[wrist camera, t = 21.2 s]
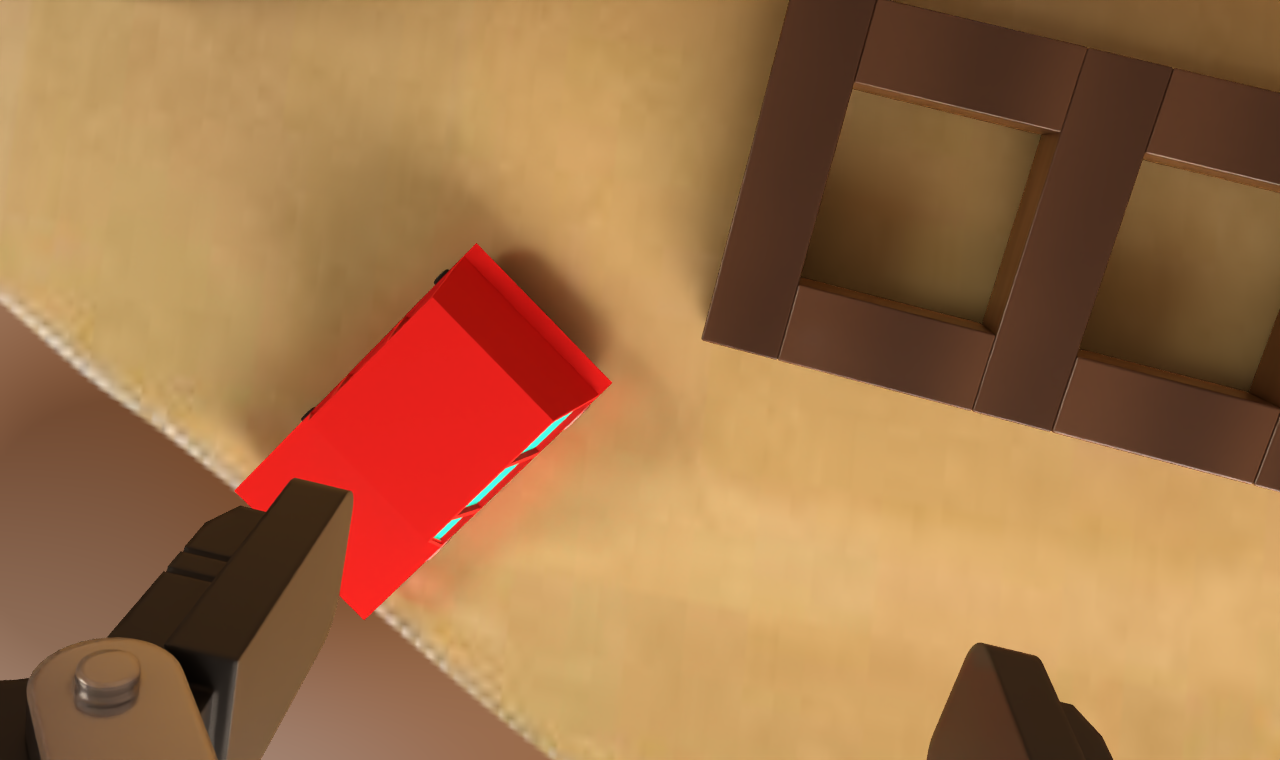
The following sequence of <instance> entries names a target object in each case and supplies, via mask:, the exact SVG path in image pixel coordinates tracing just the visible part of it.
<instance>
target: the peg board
mask: <svg viewBox="0 0 1280 760" xmlns="http://www.w3.org/2000/svg"><path fill="white" fill-rule="evenodd" d="M852 89H855V90H859V91H863V92H867V93H871V94H875V95H879V96H883V97H888V98H892V99H896V100H900V101H904V102H908V103H912V104H916V105H920V106H925V107H929V108H933V109H937V110H941V111H945V112H949V113H953V114H957V115H962V116H966V117H970V118H974V119H978V120H982V121H986V122H990V123H994V124H999V125H1003V126H1007V127H1011V128H1015V129H1019V130H1023V131H1027V132H1031V133H1036V134H1042V135H1041V138H1040V141H1039V145H1038V148H1037V151H1036V154H1035V157H1034V160H1033V164H1032V167H1031V170H1030V173H1029V176H1028V180H1027V183H1026V186H1025V189H1024V192H1023V195H1022V199H1021V202H1020V205H1019V208H1018V211H1017V214H1016V218H1015V221H1014V224H1013V227H1012V230H1011V233H1010V237H1009V240H1008V243H1007V246H1006V249H1005V253H1004V256H1003V259H1002V262H1001V265H1000V268H999V272H998V275H997V278H996V281H995V284H994V287H993V291H992V294H991V297H990V300H989V303H988V306H987V310H986V313H985V316H984V319H983V322H982V324H981V323H978V322H974V321H970V320H966V319H962V318H958V317H954V316H951V315H947V314H943V313H939V312H935V311H931V310H927V309H923V308H919V307H916V306H912V305H908V304H904V303H900V302H896V301H892V300H888V299H884V298H880V297H877V296H873V295H869V294H865V293H861V292H857V291H853V290H849V289H845V288H842V287H838V286H834V285H830V284H826V283H822V282H818V281H814V280H810V279H807V278H803V277H800V276H801V273H802V269H803V265H804V262H805V258H806V255H807V251H808V247H809V244H810V240H811V237H812V233H813V229H814V226H815V222H816V218H817V215H818V211H819V208H820V204H821V200H822V197H823V193H824V189H825V186H826V182H827V179H828V175H829V171H830V168H831V164H832V160H833V157H834V153H835V150H836V146H837V142H838V139H839V135H840V132H841V128H842V124H843V121H844V117H845V113H846V110H847V106H848V103H849V99H850V95H851V92H852ZM1142 160H1147V161H1151V162H1155V163H1159V164H1163V165H1167V166H1171V167H1175V168H1180V169H1184V170H1188V171H1192V172H1196V173H1200V174H1204V175H1208V176H1212V177H1217V178H1221V179H1225V180H1229V181H1233V182H1237V183H1241V184H1245V185H1249V186H1254V187H1258V188H1262V189H1266V190H1270V191H1274V192H1278V193H1280V93H1278V92H1274V91H1270V90H1266V89H1262V88H1257V87H1253V86H1249V85H1245V84H1240V83H1236V82H1232V81H1228V80H1224V79H1219V78H1215V77H1211V76H1207V75H1202V74H1198V73H1194V72H1190V71H1186V70H1181V69H1177V68H1174V69H1173V68H1172V67H1169V66H1164V65H1160V64H1156V63H1152V62H1148V61H1143V60H1139V59H1135V58H1131V57H1126V56H1122V55H1118V54H1114V53H1110V52H1105V51H1101V50H1097V49H1093V48H1087V47H1084V46H1080V45H1076V44H1072V43H1067V42H1063V41H1059V40H1055V39H1051V38H1046V37H1042V36H1038V35H1034V34H1029V33H1025V32H1021V31H1017V30H1013V29H1008V28H1004V27H1000V26H996V25H991V24H987V23H983V22H979V21H975V20H970V19H966V18H962V17H958V16H953V15H949V14H945V13H941V12H937V11H932V10H928V9H924V8H920V7H915V6H911V5H907V4H903V3H898V2H894V1H890V0H789V3H788V7H787V11H786V15H785V19H784V23H783V26H782V30H781V34H780V38H779V42H778V46H777V50H776V53H775V57H774V61H773V65H772V69H771V73H770V76H769V80H768V84H767V88H766V92H765V96H764V100H763V103H762V107H761V111H760V115H759V119H758V123H757V127H756V130H755V134H754V138H753V142H752V146H751V150H750V153H749V157H748V161H747V165H746V169H745V173H744V177H743V180H742V184H741V188H740V192H739V196H738V200H737V204H736V207H735V211H734V215H733V219H732V223H731V227H730V230H729V234H728V238H727V242H726V246H725V250H724V254H723V257H722V261H721V265H720V269H719V273H718V277H717V280H716V284H715V288H714V292H713V296H712V300H711V304H710V307H709V311H708V315H707V319H706V323H705V327H704V331H703V334H702V340H703V341H707V342H710V343H714V344H718V345H722V346H726V347H729V348H733V349H737V350H741V351H745V352H748V353H752V354H756V355H760V356H764V357H768V358H771V359H778V360H779V361H783V362H787V363H790V364H794V365H798V366H802V367H806V368H809V369H813V370H817V371H821V372H825V373H828V374H832V375H836V376H840V377H844V378H847V379H851V380H855V381H859V382H863V383H866V384H870V385H874V386H878V387H882V388H885V389H889V390H893V391H897V392H901V393H904V394H908V395H912V396H916V397H920V398H923V399H927V400H931V401H935V402H939V403H942V404H946V405H950V406H954V407H958V408H961V409H965V410H969V411H970V410H972V411H973V412H977V413H980V414H984V415H988V416H992V417H996V418H999V419H1003V420H1007V421H1011V422H1015V423H1018V424H1022V425H1026V426H1030V427H1034V428H1037V429H1041V430H1045V431H1052V432H1054V433H1057V434H1061V435H1065V436H1069V437H1072V438H1076V439H1080V440H1084V441H1088V442H1091V443H1095V444H1099V445H1103V446H1107V447H1110V448H1114V449H1118V450H1122V451H1126V452H1129V453H1133V454H1137V455H1141V456H1145V457H1148V458H1152V459H1156V460H1160V461H1164V462H1167V463H1171V464H1175V465H1179V466H1183V467H1186V468H1190V469H1194V470H1198V471H1202V472H1205V473H1209V474H1213V475H1217V476H1221V477H1224V478H1228V479H1232V480H1236V481H1240V482H1244V483H1247V484H1253V485H1255V486H1258V487H1262V488H1266V489H1270V490H1274V491H1277V492H1280V310H1279V313H1278V315H1277V318H1276V321H1275V323H1274V326H1273V329H1272V331H1271V334H1270V337H1269V339H1268V342H1267V345H1266V347H1265V350H1264V353H1263V355H1262V358H1261V361H1260V363H1259V366H1258V369H1257V371H1256V374H1255V377H1254V379H1253V382H1252V385H1251V388H1250V390H1249V393H1248V392H1246V391H1242V390H1238V389H1234V388H1231V387H1227V386H1223V385H1219V384H1215V383H1211V382H1207V381H1203V380H1199V379H1196V378H1192V377H1188V376H1184V375H1180V374H1176V373H1172V372H1168V371H1164V370H1160V369H1157V368H1153V367H1149V366H1145V365H1141V364H1137V363H1133V362H1129V361H1125V360H1122V359H1118V358H1114V357H1110V356H1106V355H1102V354H1098V353H1094V352H1090V351H1087V350H1083V349H1079V347H1080V344H1081V341H1082V338H1083V335H1084V332H1085V329H1086V326H1087V323H1088V320H1089V317H1090V314H1091V311H1092V308H1093V305H1094V302H1095V300H1096V297H1097V294H1098V291H1099V288H1100V285H1101V282H1102V279H1103V276H1104V273H1105V270H1106V267H1107V264H1108V261H1109V258H1110V255H1111V252H1112V249H1113V246H1114V243H1115V240H1116V237H1117V234H1118V231H1119V228H1120V225H1121V222H1122V219H1123V216H1124V213H1125V210H1126V207H1127V204H1128V201H1129V198H1130V195H1131V192H1132V189H1133V186H1134V183H1135V181H1136V178H1137V175H1138V172H1139V169H1140V166H1141V163H1142Z"/></svg>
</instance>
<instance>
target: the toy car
mask: <svg viewBox="0 0 1280 760" xmlns="http://www.w3.org/2000/svg"><path fill="white" fill-rule="evenodd" d="M434 285H435V286H434V287H433V288H432V289H431V290H430V291H429V292H428V293H427V294H426V295H425V296H424V297H423V298H422V299H421V300H420V301H419V302H418V303H417V304H416V305H415V306H414V307H413V308H412V309H411V310H410V311H409V312H408V313H407V314H406V315H405V317H404V318H403V319H402V320H400V321H399V323H398V324H397V325H396V326H395V327H394V328H393V329H392V330H391V331H390V332H389V333H388V334H387V335H386V336H385V337H384V338H383V339H382V340H381V341H380V342H379V343H378V344H377V345H376V346H375V347H374V348H373V349H372V350H371V351H370V352H369V353H368V354H367V355H366V356H365V357H364V358H363V359H362V360H361V361H360V362H359V363H358V364H357V365H356V366H355V368H354V369H353V370H352V371H351V372H350V373H349V374H348V375H347V376H346V377H345V378H344V379H343V380H342V381H341V382H340V383H339V384H338V385H337V386H336V387H335V388H334V389H333V390H332V391H331V392H330V393H329V394H328V395H327V396H326V397H325V398H324V399H323V400H322V401H321V402H320V403H319V404H318V405H317V406H316V407H314V408H312V409H310V410H309V411H308V412H307V413H306V414H305V415H304V416H303V417H302V418H301V421H302V422H301V423H300V424H299V425H298V426H297V427H296V428H295V429H294V430H293V431H292V432H291V433H290V434H289V435H288V436H287V437H286V438H285V439H284V440H283V442H282V443H281V444H280V445H279V446H278V447H277V448H276V449H275V450H274V451H273V452H272V453H271V454H270V455H269V456H268V457H267V458H266V459H265V460H264V461H263V462H262V463H261V464H260V465H259V466H258V467H257V468H256V469H255V470H254V471H253V472H252V473H251V474H250V475H249V476H248V477H247V478H246V479H245V480H244V481H243V482H242V483H241V484H240V486H239V487H238V488H237V489H236V490H235V492H236V493H237V494H238V495H239V496H240V497H241V498H242V499H243V500H244V501H245V502H246V503H247V504H248V505H249V506H250V507H251V508H252V509H256V510H260V511H264V512H266V511H267V510H268V508H269V507H270V506H271V505H272V503H273V502H274V501H275V499H276V498H277V497H278V495H279V494H280V493H281V492H282V490H283V489H284V488H285V486H286V485H287V484H288V482H289V481H290V480H291V479H293V478H299V479H303V480H307V481H311V482H315V483H320V484H324V485H328V486H332V487H336V488H341V489H345V490H349V491H352V493H353V511H352V517H351V524H350V530H349V536H348V543H347V549H346V556H345V562H344V568H343V575H342V581H341V588H340V594H339V596H340V597H341V598H342V599H343V600H344V601H345V602H346V603H347V604H348V605H349V606H350V607H351V608H353V610H354V611H355V612H356V613H357V614H358V615H359V616H360V617H361V618H362V619H363V620H365V619H366V618H367V617H368V616H369V615H370V614H371V613H372V612H373V611H374V610H375V609H376V608H377V607H378V606H379V605H381V604H382V603H383V602H384V601H385V600H386V599H387V598H388V597H389V596H390V595H391V594H392V593H393V592H394V591H395V590H396V589H397V588H398V587H399V586H400V585H401V584H402V583H404V582H405V581H406V580H407V579H408V578H409V577H410V576H411V575H412V574H413V573H414V572H415V571H416V570H417V569H418V568H419V567H420V566H421V565H422V564H423V563H424V562H425V561H428V560H430V559H431V558H432V557H433V556H434V555H435V554H436V553H437V552H438V551H439V550H440V549H441V548H442V547H443V546H444V545H445V544H446V543H447V542H448V541H449V540H450V539H451V537H452V536H453V535H454V534H455V533H456V532H457V531H458V530H459V529H460V528H461V527H462V526H463V525H464V524H465V523H466V522H467V521H468V520H469V519H470V518H471V517H473V516H474V515H475V514H476V513H477V512H478V511H479V510H480V509H481V508H482V507H483V506H484V505H485V504H486V503H487V502H488V501H489V500H490V499H491V498H492V497H493V496H494V495H496V494H497V493H498V492H499V491H500V490H501V489H502V488H503V487H504V486H505V485H506V484H507V483H508V482H509V481H510V480H511V479H512V478H513V477H514V476H515V475H516V474H517V473H519V472H520V471H521V470H522V469H523V468H524V467H525V466H526V465H527V464H528V463H529V462H530V461H531V460H532V459H533V458H534V457H535V456H536V455H537V454H538V453H539V452H540V451H542V450H543V449H544V448H545V447H546V446H547V445H548V444H549V443H550V442H551V441H552V440H553V439H554V438H555V437H556V436H557V435H558V434H559V433H560V432H561V431H562V430H564V429H567V428H568V427H569V426H570V425H571V424H572V423H573V422H574V421H575V420H576V419H578V418H579V417H580V416H581V415H582V414H583V413H584V412H585V411H586V410H587V409H588V408H589V406H590V404H591V403H592V402H593V401H594V400H595V399H596V398H597V397H598V396H599V395H600V394H601V393H602V392H603V391H604V390H605V389H606V388H607V387H609V386H610V385H611V384H612V382H611V381H610V380H609V379H608V378H607V377H606V376H605V375H604V374H603V373H602V372H601V371H600V370H599V369H598V368H597V367H596V366H595V365H594V364H593V363H592V361H591V360H590V359H589V358H588V357H587V356H586V355H585V354H584V353H583V352H582V351H581V350H580V349H579V348H578V347H577V346H576V345H575V344H574V343H573V342H572V341H571V340H570V339H569V338H568V337H567V336H566V335H565V334H564V333H563V332H562V331H561V330H560V329H559V328H558V326H557V325H556V324H555V323H554V322H553V321H552V320H551V319H550V318H549V317H548V316H547V315H546V314H545V313H544V312H543V311H542V310H541V309H540V308H539V307H538V306H537V305H536V304H535V303H534V302H533V301H532V300H531V299H530V298H529V297H528V296H527V295H526V294H525V293H524V291H523V290H522V289H521V288H520V287H519V286H518V285H517V284H516V283H515V282H514V281H513V280H512V279H511V278H510V277H509V276H508V275H507V274H506V273H505V272H504V271H503V270H502V269H501V268H500V267H499V266H498V265H497V264H496V263H495V262H494V261H493V260H492V259H491V258H490V256H489V255H488V254H487V253H486V252H485V251H484V250H483V249H482V248H481V247H480V246H479V245H478V244H477V243H476V244H475V245H474V246H473V247H472V248H471V249H470V250H469V251H468V252H467V253H466V254H465V255H464V256H463V257H462V258H461V259H460V260H459V261H458V262H457V263H456V264H455V265H454V266H453V267H452V268H451V269H450V270H448V269H447V270H445V271H444V272H442V273H441V274H440V275H439V276H438V277H437V278H436V280H435V281H434Z"/></svg>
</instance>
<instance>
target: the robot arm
mask: <svg viewBox="0 0 1280 760" xmlns="http://www.w3.org/2000/svg"><path fill="white" fill-rule="evenodd" d="M352 511H353V493H352V491H349V490H345V489H341V488H336V487H332V486H328V485H324V484H320V483H315V482H311V481H307V480H303V479H299V478H293V479H291V480H290V481H289V482H288V484H287V485H286V486H285V488H284V489H283V490H282V492H281V493H280V494H279V495H278V497H277V498H276V499H275V501H274V502H273V503H272V505H271V506H270V507H269V508H268V510H267V511H266V512H264V511H260V510H256V509H252V508H248V507H243V506H239V507H236V508H234V509H232V510H230V511H228V512H226V513H224V514H222V515H220V516H218V517H216V518H214V519H212V520H210V521H208V522H206V523H205V524H204V525H203V526H202V527H201V528H200V530H199V531H198V532H197V533H196V534H195V535H194V537H193V538H192V539H191V540H190V541H189V542H188V544H187V545H186V546H185V548H184V551H183V552H180V553H179V554H178V555H177V556H176V558H175V559H174V560H173V561H172V562H171V563H170V565H169V566H168V569H167V571H166V572H163V573H162V574H161V575H160V576H159V577H158V579H157V580H156V581H155V582H154V583H153V584H152V586H151V587H150V588H149V589H148V590H147V591H146V593H145V594H144V595H143V596H142V597H141V599H140V600H139V601H138V602H137V603H136V604H135V605H134V606H133V608H132V609H131V610H130V611H129V612H128V614H127V615H126V616H125V617H124V618H123V619H122V620H121V622H120V623H119V624H118V625H117V626H116V627H115V629H114V630H113V631H112V632H111V633H110V635H109V636H108V637H107V638H99V639H92V640H87V641H82V642H79V643H76V644H73V645H70V646H67V647H66V648H63V649H61V650H58V651H57V652H55V653H53V654H52V655H50V656H48V657H47V658H46V659H45V660H43V661H42V662H41V663H40V664H39V665H38V666H37V667H36V668H35V670H34V671H33V672H32V674H31V676H30V678H26V679H19V680H3V681H0V760H261V758H262V756H263V755H264V753H265V751H266V749H267V747H268V745H269V743H270V742H271V740H272V738H273V736H274V734H275V732H276V731H277V728H278V727H279V725H280V723H281V722H282V720H283V718H284V716H285V714H286V712H287V711H288V709H289V707H290V705H291V703H292V701H293V699H294V698H295V696H296V694H297V692H298V690H299V689H300V687H301V684H302V683H303V681H304V679H305V678H306V676H307V674H308V672H309V670H310V668H311V666H312V665H313V663H314V661H315V659H316V657H317V655H318V654H319V652H320V650H321V648H322V646H323V644H324V642H325V640H326V638H327V636H328V633H329V630H330V627H331V625H332V621H333V618H334V615H335V612H336V608H337V604H338V599H339V594H340V588H341V581H342V575H343V568H344V562H345V556H346V549H347V543H348V536H349V530H350V524H351V517H352ZM927 760H1113V758H1112V756H1111V754H1110V752H1109V750H1108V748H1107V746H1106V744H1105V742H1104V740H1103V737H1102V736H1101V735H1100V734H1099V733H1098V732H1097V731H1096V729H1095V728H1094V727H1093V726H1092V725H1091V724H1090V723H1089V722H1088V721H1087V720H1086V719H1085V718H1084V717H1083V715H1082V714H1081V713H1080V712H1079V711H1078V710H1077V709H1076V708H1075V707H1074V706H1073V705H1071V704H1067V703H1063V702H1060V701H1059V699H1058V697H1057V694H1056V692H1055V690H1054V688H1053V685H1052V683H1051V681H1050V679H1049V677H1048V674H1047V672H1046V670H1045V668H1044V665H1043V663H1042V662H1041V660H1040V659H1039V658H1038V657H1037V656H1035V655H1030V654H1026V653H1022V652H1018V651H1014V650H1009V649H1005V648H1001V647H997V646H993V645H988V644H984V643H977V644H975V645H974V646H973V647H972V648H971V649H970V651H969V652H968V654H967V656H966V658H965V660H964V663H963V665H962V667H961V670H960V672H959V674H958V677H957V679H956V681H955V684H954V686H953V689H952V691H951V693H950V696H949V698H948V700H947V703H946V705H945V707H944V710H943V712H942V714H941V717H940V719H939V722H938V724H937V726H936V729H935V731H934V733H933V736H932V739H931V742H930V745H929V750H928V755H927Z"/></svg>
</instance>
